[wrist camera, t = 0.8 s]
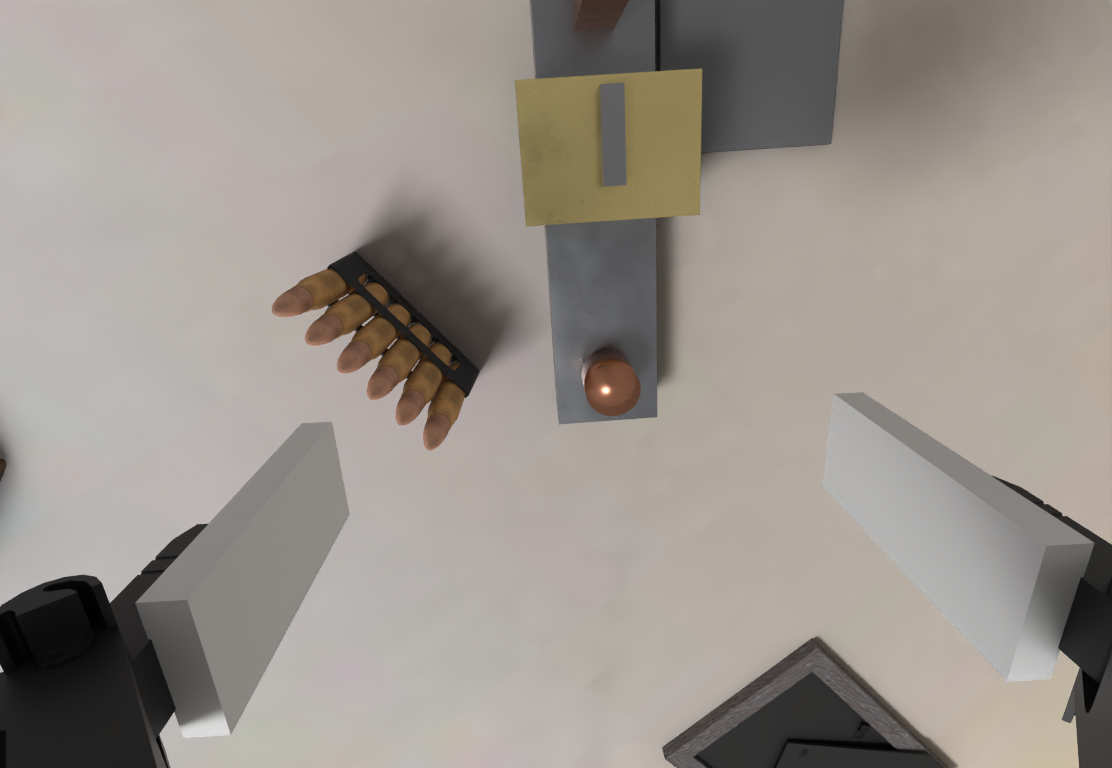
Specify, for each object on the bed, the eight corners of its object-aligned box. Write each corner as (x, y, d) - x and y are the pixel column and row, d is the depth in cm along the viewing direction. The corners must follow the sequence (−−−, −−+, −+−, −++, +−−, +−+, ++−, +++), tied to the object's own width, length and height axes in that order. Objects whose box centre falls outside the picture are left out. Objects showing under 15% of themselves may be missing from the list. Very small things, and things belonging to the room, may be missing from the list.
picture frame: (945, 762, 52) (808, 633, 47) (960, 784, 50) (820, 652, 45) (803, 853, 55) (660, 741, 50) (813, 876, 53) (665, 763, 48)
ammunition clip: (480, 371, 38) (457, 449, 27) (460, 389, 38) (430, 474, 27) (354, 250, 35) (269, 280, 24) (335, 271, 36) (241, 310, 24)
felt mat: (657, -45, 31) (660, -50, 30) (842, -56, 31) (848, -61, 30) (658, 155, 34) (661, 154, 33) (826, 144, 34) (831, 143, 34)
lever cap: (517, 98, 29) (514, 75, 23) (674, 87, 29) (709, 63, 24) (527, 220, 31) (525, 227, 25) (674, 210, 31) (705, 215, 26)
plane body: (528, -16, 31) (527, -93, 22) (639, -22, 31) (680, -102, 23) (556, 401, 39) (563, 460, 30) (645, 394, 39) (676, 452, 30)
